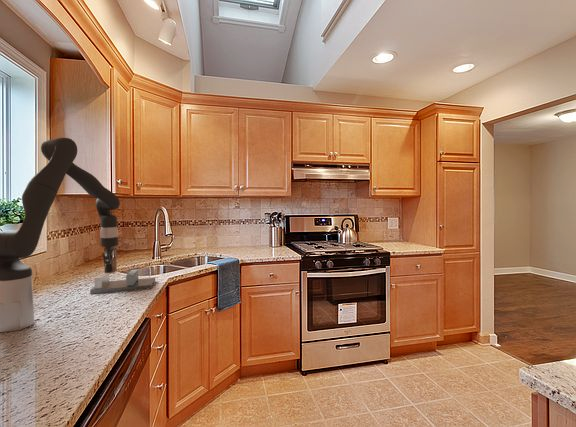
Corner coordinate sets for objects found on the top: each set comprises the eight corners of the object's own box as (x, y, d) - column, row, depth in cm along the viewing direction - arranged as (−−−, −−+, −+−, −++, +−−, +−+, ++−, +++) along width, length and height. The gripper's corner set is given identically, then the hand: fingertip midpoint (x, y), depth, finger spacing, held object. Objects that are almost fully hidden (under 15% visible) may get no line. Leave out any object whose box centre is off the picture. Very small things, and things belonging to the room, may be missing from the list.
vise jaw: (133, 285, 146) (132, 274, 146) (126, 285, 145) (126, 275, 145) (138, 278, 158) (138, 269, 158) (132, 279, 157) (131, 269, 157)
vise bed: (151, 288, 148) (150, 274, 147) (90, 294, 141) (89, 279, 140) (155, 281, 161) (154, 268, 161) (100, 285, 154) (99, 272, 154)
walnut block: (113, 272, 147) (113, 260, 147) (104, 273, 146) (104, 261, 146) (116, 270, 152) (116, 258, 151) (107, 270, 151) (107, 259, 150)
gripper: (113, 237, 142) (115, 273, 143) (121, 234, 156) (123, 266, 157) (95, 238, 140) (97, 274, 141) (105, 234, 154) (106, 268, 155)
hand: (110, 270), depth 149 cm, fingers closed on walnut block, 5 cm apart
